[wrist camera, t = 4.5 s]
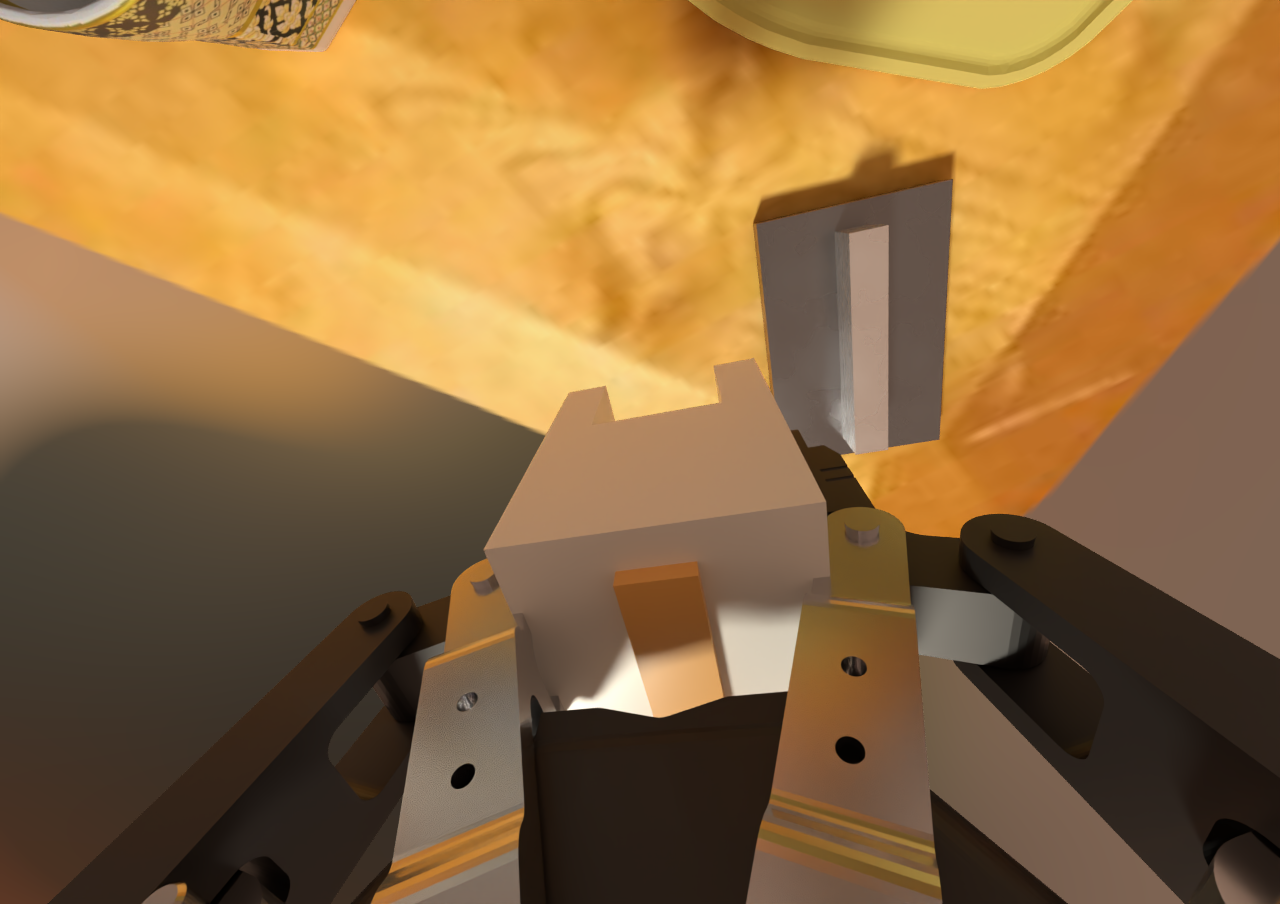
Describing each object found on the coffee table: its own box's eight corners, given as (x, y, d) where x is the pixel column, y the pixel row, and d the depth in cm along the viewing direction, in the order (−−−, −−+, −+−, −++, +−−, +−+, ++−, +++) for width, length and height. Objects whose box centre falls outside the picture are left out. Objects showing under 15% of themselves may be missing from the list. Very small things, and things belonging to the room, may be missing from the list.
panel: (753, 223, 22) (763, 225, 20) (940, 180, 21) (979, 176, 18) (777, 455, 27) (788, 482, 25) (930, 431, 26) (959, 457, 23)
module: (569, 392, 13) (476, 563, 7) (753, 358, 12) (832, 514, 6) (613, 544, 15) (573, 774, 9) (772, 522, 14) (844, 757, 8)
